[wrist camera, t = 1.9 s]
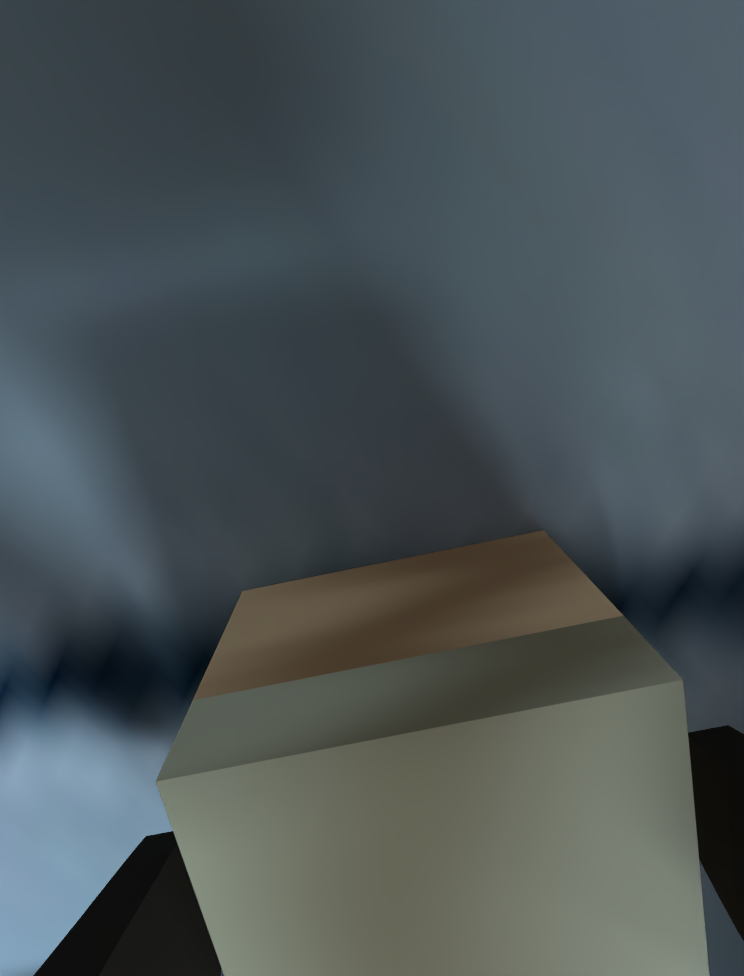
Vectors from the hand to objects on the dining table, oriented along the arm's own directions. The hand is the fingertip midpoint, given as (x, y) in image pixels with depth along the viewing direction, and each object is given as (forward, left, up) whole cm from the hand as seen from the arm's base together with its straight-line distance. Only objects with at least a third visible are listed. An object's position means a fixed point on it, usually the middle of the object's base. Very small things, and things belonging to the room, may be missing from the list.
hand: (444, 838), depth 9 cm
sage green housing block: (0, 0, -2) cm, 2 cm away
